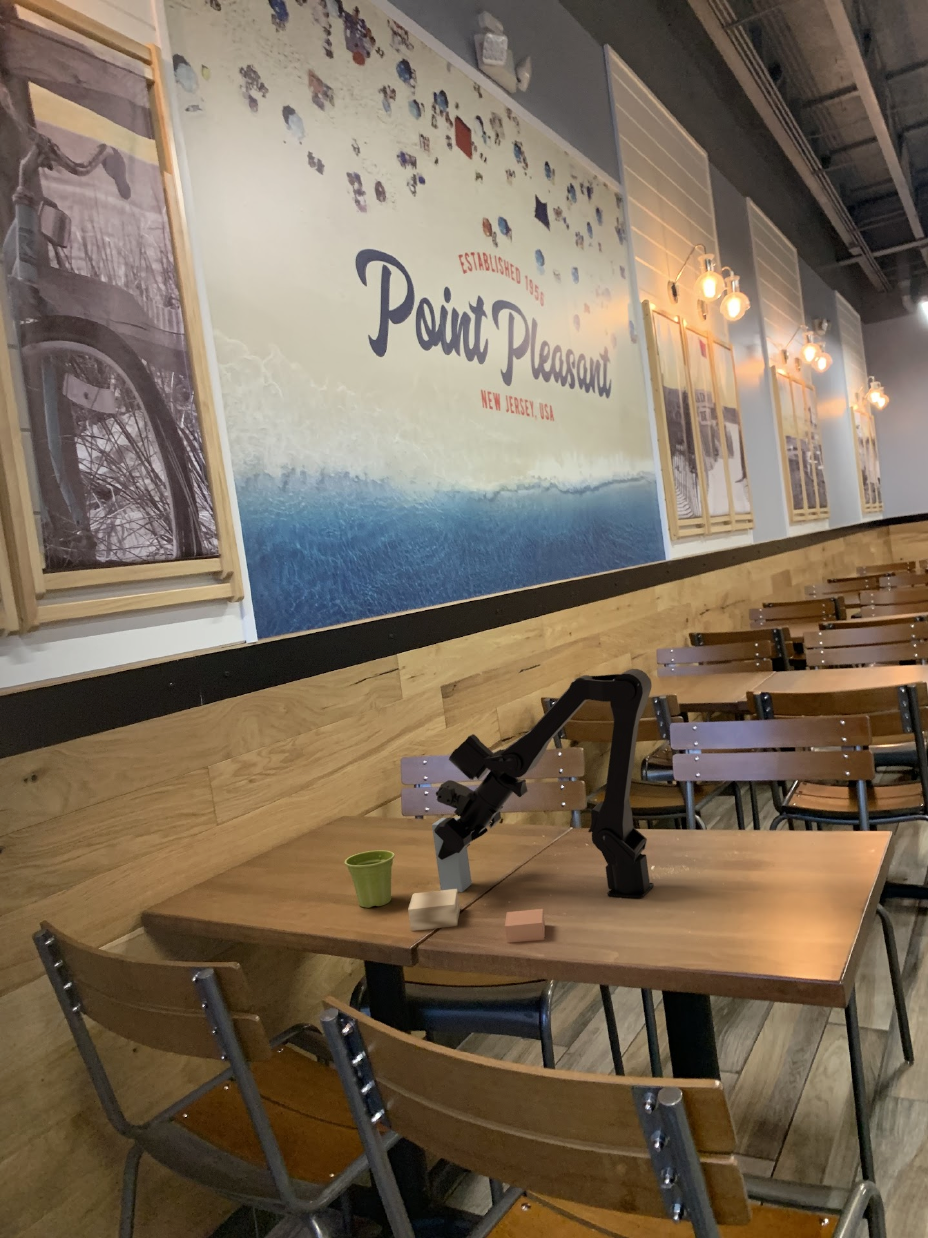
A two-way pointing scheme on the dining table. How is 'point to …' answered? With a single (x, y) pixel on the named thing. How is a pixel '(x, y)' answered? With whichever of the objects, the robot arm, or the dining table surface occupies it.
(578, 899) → the dining table surface
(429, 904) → the birch base
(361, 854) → the plant pot
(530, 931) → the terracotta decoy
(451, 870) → the slate post
